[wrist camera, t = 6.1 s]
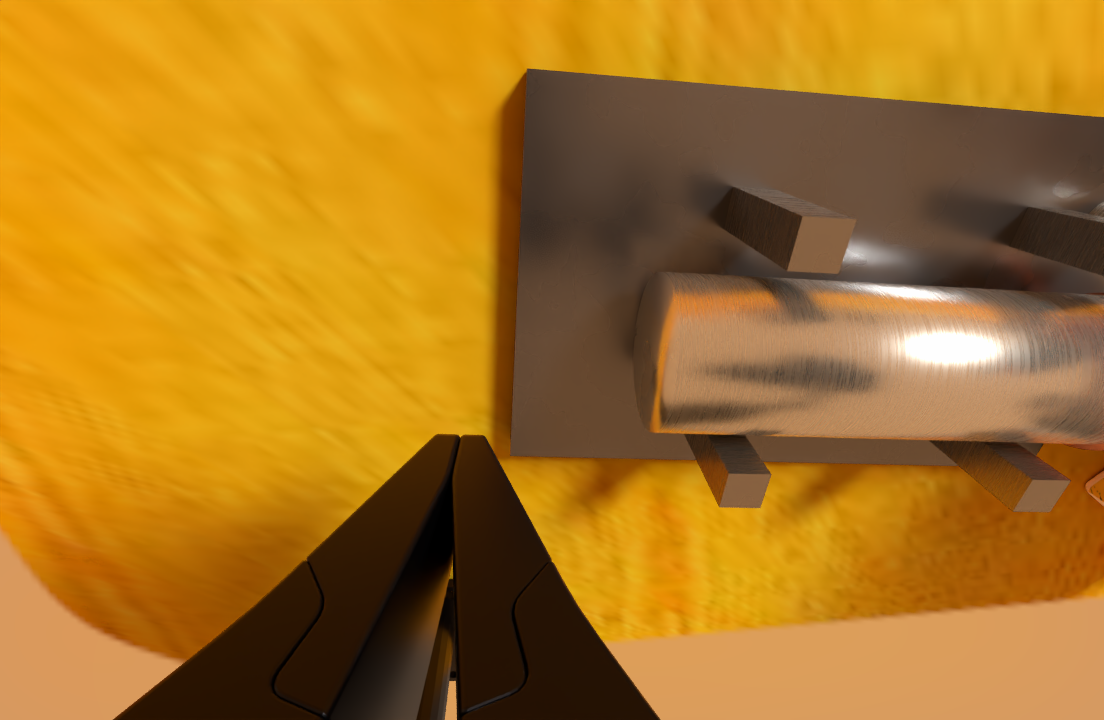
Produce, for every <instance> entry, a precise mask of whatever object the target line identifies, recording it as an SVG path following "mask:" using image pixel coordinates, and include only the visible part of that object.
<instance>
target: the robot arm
mask: <svg viewBox="0 0 1104 720" xmlns="http://www.w3.org/2000/svg"><path fill="white" fill-rule="evenodd" d="M452 560H453V579H449V576H450V571H451V566H452ZM449 681H456V699H457V720H660V718H659V717H658V716H657V715H656V713H655V712H654V710H653V709H652V708H651V706H650V705H649V704H648V702H647V701H646V700H645V698H644V697H643V696H642V694H641V693H640V691H639V690H638V689H637V687H636V686H635V685H634V683H633V682H632V680H631V679H630V678H629V677H628V675H627V674H626V672H625V671H624V670H623V668H622V667H621V666H620V664H619V663H618V661H617V660H616V659H615V657H614V656H613V655H612V653H611V652H610V651H609V649H608V648H607V646H606V645H605V644H604V642H603V641H602V640H601V638H600V637H599V635H598V634H597V633H596V631H595V630H594V628H593V627H592V625H591V624H590V622H589V621H588V620H587V618H586V617H585V615H584V614H583V612H582V611H581V609H580V608H579V606H578V605H577V603H576V601H575V600H574V598H573V596H572V594H571V593H570V591H569V589H568V588H567V586H566V584H565V583H564V581H563V579H562V577H561V575H560V574H559V572H558V570H557V568H556V566H555V564H554V563H553V562H552V560H551V557H550V555H549V554H548V552H547V550H546V548H545V546H544V544H543V543H542V541H541V539H540V537H539V535H538V533H537V531H536V530H535V528H534V526H533V524H532V522H531V520H530V518H529V517H528V515H527V513H526V511H525V509H524V507H523V505H522V504H521V502H520V500H519V498H518V496H517V494H516V492H515V491H514V489H513V487H512V485H511V483H510V481H509V480H508V478H507V476H506V474H505V472H504V470H503V468H502V467H501V465H500V463H499V461H498V459H497V457H496V455H495V454H494V452H493V450H492V448H491V446H490V444H489V442H488V441H487V439H486V437H485V436H483V435H463V436H461V438H460V437H459V435H455V434H437V435H435V436H434V437H433V438H432V439H431V440H430V441H428V442H427V443H426V444H425V445H424V446H423V447H422V448H421V449H420V450H419V451H418V452H417V453H416V454H415V455H414V456H413V457H412V458H411V459H410V460H408V461H407V462H406V463H405V464H404V465H403V466H402V467H401V468H400V469H399V470H398V471H397V472H396V473H395V474H394V475H393V476H392V477H391V478H390V479H389V480H387V481H386V482H385V483H384V484H383V485H382V486H381V487H380V488H379V489H378V490H377V491H376V492H375V493H374V494H373V495H372V496H371V497H370V498H369V499H368V500H366V501H365V502H364V503H363V504H362V505H361V506H360V507H359V508H358V509H357V510H356V511H355V512H354V513H353V514H352V515H351V516H350V517H349V518H348V519H347V520H345V521H344V522H343V523H342V524H341V525H340V526H339V527H338V528H337V529H336V530H335V531H334V532H333V533H332V534H331V535H330V536H329V537H328V538H327V539H326V540H324V541H323V542H322V543H321V544H320V545H319V546H318V547H317V548H316V549H315V550H314V551H313V552H312V553H311V554H310V555H309V556H308V557H307V561H302V562H301V563H300V564H299V565H298V566H297V567H296V568H295V569H294V570H293V571H292V572H291V573H290V574H288V575H287V576H286V577H285V578H284V579H283V580H282V581H281V582H280V583H279V584H278V585H277V586H275V587H274V588H273V589H272V590H271V591H270V592H269V593H268V594H267V595H265V596H264V597H263V598H262V599H261V600H260V601H259V602H258V603H257V604H256V605H254V606H253V607H252V608H251V609H250V610H249V611H247V612H246V613H245V614H244V615H242V616H241V617H240V618H239V619H238V620H236V621H235V622H234V623H233V624H232V625H230V626H229V627H228V628H227V629H226V630H224V631H223V632H222V633H221V634H220V635H218V636H217V637H216V638H215V639H213V640H212V641H211V642H210V643H208V644H207V645H206V646H205V647H203V648H202V649H201V650H200V651H198V652H197V653H196V654H195V655H193V656H192V657H191V658H190V659H188V660H187V661H186V662H185V663H183V664H182V665H181V666H180V667H178V668H177V669H176V670H175V671H173V672H172V673H171V674H170V675H168V676H167V677H166V678H165V679H163V680H162V681H161V682H160V683H158V684H157V685H156V686H154V687H153V688H152V689H151V690H150V691H148V692H147V693H146V694H145V695H143V696H142V697H141V698H139V699H138V700H137V701H136V702H134V703H133V704H132V705H131V706H129V707H128V708H127V709H126V710H125V711H123V712H122V713H121V714H119V715H118V716H117V717H116V718H115V719H113V720H445V712H446V703H447V694H448V686H449Z"/></svg>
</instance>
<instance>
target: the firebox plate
mask: <svg viewBox="0 0 1104 720" xmlns="http://www.w3.org/2000/svg"><path fill="white" fill-rule="evenodd" d="M656 272H678V273H697V274H715V275H734V276H753V277H772V278H791V279H809V280H828V281H847V282H866V283H885V284H904V285H922V286H941V287H960V288H979V289H998V290H1017V291H1035V292H1054V293H1073V294H1087V293H1104V117H1092V116H1080V115H1069V114H1057V113H1045V112H1033V111H1021V110H1010V109H998V108H986V107H974V106H962V105H951V104H939V103H927V102H915V101H903V100H892V99H880V98H868V97H856V96H844V95H833V94H821V93H809V92H797V91H785V90H774V89H762V88H750V87H738V86H726V85H715V84H703V83H691V82H679V81H667V80H656V79H644V78H632V77H620V76H608V75H597V74H585V73H573V72H561V71H549V70H538V69H527V73H526V97H525V120H524V143H523V166H522V189H521V212H520V236H519V259H518V282H517V305H516V328H515V352H514V375H513V398H512V421H511V448H510V456H539V457H583V458H628V459H672V460H697V462H698V464H699V466H700V468H701V471H702V473H703V475H704V477H705V479H706V481H707V483H708V485H709V487H710V489H711V491H712V493H713V495H714V497H715V499H716V501H717V504H718V506H719V507H739V508H760V507H761V504H762V501H763V498H764V495H765V492H766V489H767V486H768V483H769V480H770V477H771V473H770V472H769V470H768V469H767V467H766V466H765V464H764V463H763V462H806V463H850V464H895V465H939V466H960V467H961V468H962V469H963V470H964V471H965V472H967V473H968V474H969V475H970V476H971V477H973V478H974V479H975V480H976V481H977V482H979V483H980V484H981V485H982V486H983V487H984V488H986V489H987V490H988V491H989V492H990V493H992V494H993V495H994V496H995V497H996V498H997V499H999V500H1000V501H1001V502H1002V503H1003V504H1005V505H1006V506H1007V507H1008V508H1009V509H1010V510H1012V511H1013V512H1050V511H1051V510H1052V508H1053V507H1054V505H1055V504H1056V502H1057V501H1058V499H1059V498H1060V496H1061V495H1062V493H1063V492H1064V490H1065V489H1066V487H1067V486H1068V484H1069V483H1070V481H1071V480H1069V479H1068V478H1067V477H1065V476H1064V475H1062V474H1061V473H1059V472H1058V471H1057V470H1055V469H1054V468H1052V467H1051V466H1049V465H1048V464H1047V463H1045V462H1044V461H1042V460H1041V459H1039V458H1038V457H1037V456H1036V455H1037V453H1038V452H1039V450H1040V448H1041V447H1042V445H1043V444H1044V443H1018V442H981V441H944V440H906V439H869V438H832V437H794V436H757V435H720V434H683V433H652V432H649V431H648V430H647V429H646V428H645V427H644V425H643V423H642V421H641V418H640V415H639V411H638V407H637V402H636V396H635V388H634V371H633V357H634V339H635V329H636V322H637V316H638V311H639V307H640V302H641V299H642V295H643V293H644V290H645V287H646V285H647V283H648V281H649V279H650V278H651V277H652V275H653V274H655V273H656Z"/></svg>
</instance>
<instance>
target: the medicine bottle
mask: <svg viewBox="0 0 1104 720" xmlns="http://www.w3.org/2000/svg"><path fill="white" fill-rule="evenodd" d="M1085 488H1086V491H1087V492H1088V493H1089V494H1090V495H1091V496H1092V497H1093V498H1095V499H1096V500H1097V501H1098V502H1099V503H1100V504H1101V505H1103V506H1104V471H1102V472H1101V473H1100V474H1098V475H1097V476H1095V477H1094V478H1092V479H1091V480H1089V481H1088V482H1087V483H1086V487H1085Z"/></svg>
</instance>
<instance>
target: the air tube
mask: <svg viewBox="0 0 1104 720" xmlns="http://www.w3.org/2000/svg"><path fill="white" fill-rule="evenodd" d="M633 371H634V388H635V396H636V402H637V407H638V411H639V415H640V418H641V421H642V423H643V425H644V427H645V428H646V429H647V430H648V431H649V432H652V433H683V434H720V435H757V436H794V437H832V438H869V439H906V440H944V441H981V442H1018V443H1056V444H1065V445H1068V446H1071V447H1075V448H1080V449H1087V450H1104V293H1087V294H1073V293H1054V292H1035V291H1017V290H998V289H979V288H960V287H941V286H922V285H904V284H885V283H866V282H847V281H828V280H809V279H791V278H772V277H753V276H734V275H715V274H697V273H678V272H656V273H655V274H653V275H652V277H651V278H650V279H649V281H648V283H647V285H646V287H645V290H644V293H643V295H642V299H641V302H640V307H639V311H638V316H637V322H636V329H635V339H634V357H633Z"/></svg>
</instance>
